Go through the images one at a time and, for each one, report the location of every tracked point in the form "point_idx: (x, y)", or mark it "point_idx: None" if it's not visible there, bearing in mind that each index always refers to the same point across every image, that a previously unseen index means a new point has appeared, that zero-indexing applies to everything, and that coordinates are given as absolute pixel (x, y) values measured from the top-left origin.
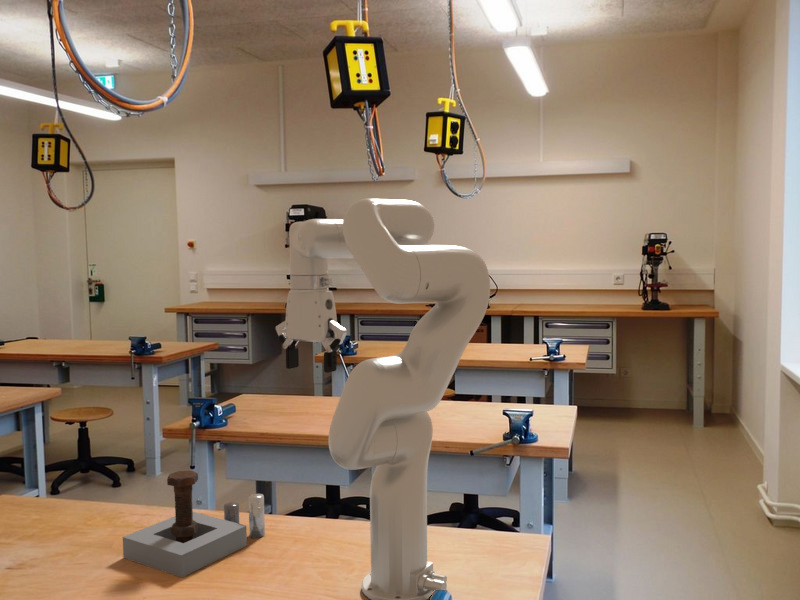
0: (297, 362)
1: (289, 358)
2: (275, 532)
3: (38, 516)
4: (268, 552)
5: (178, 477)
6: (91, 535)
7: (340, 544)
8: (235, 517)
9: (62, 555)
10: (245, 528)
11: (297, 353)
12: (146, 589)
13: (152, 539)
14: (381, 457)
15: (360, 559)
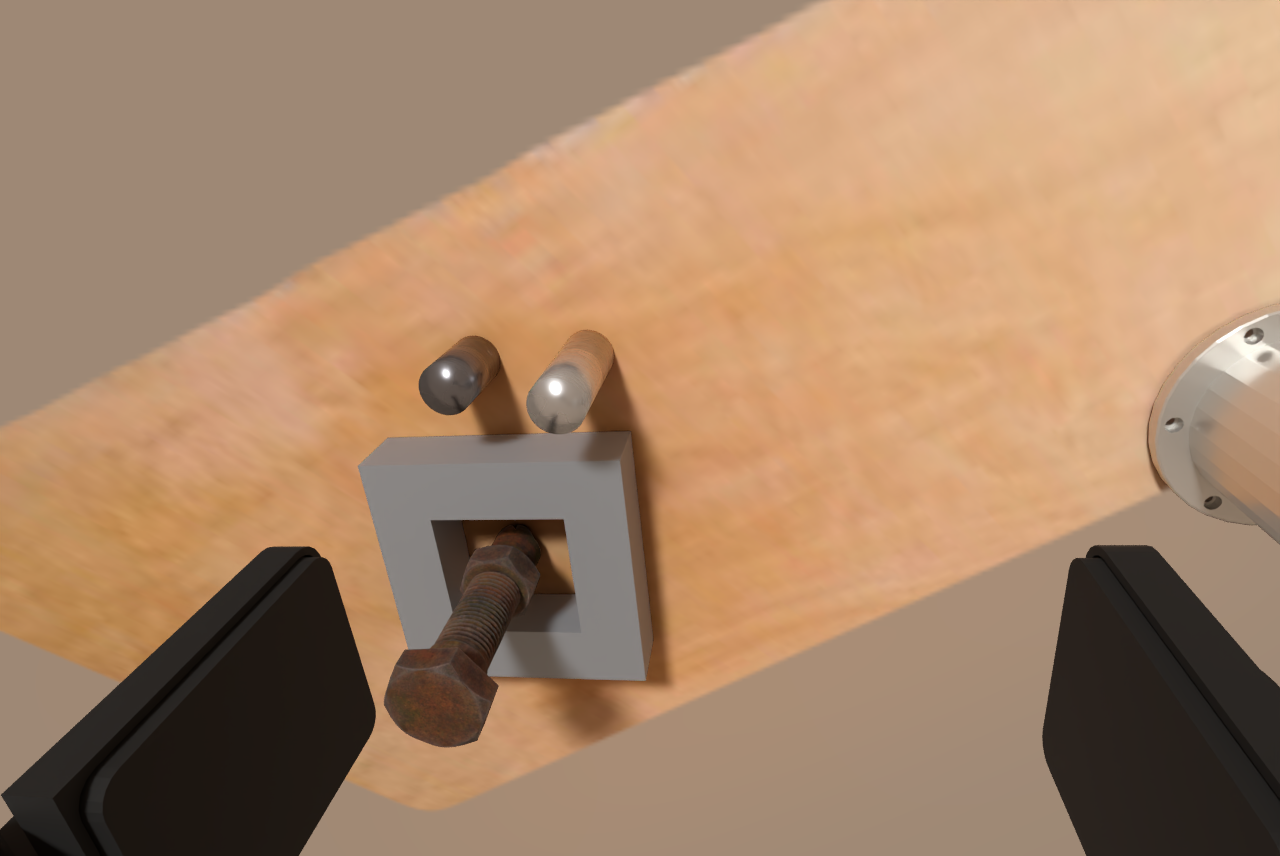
0: (296, 612)
1: (297, 836)
2: (620, 302)
3: (14, 582)
4: (724, 430)
5: (455, 735)
6: None
7: (897, 251)
8: (485, 380)
9: None
10: (622, 460)
11: (190, 729)
12: (637, 705)
13: None
14: None
15: (1039, 311)
